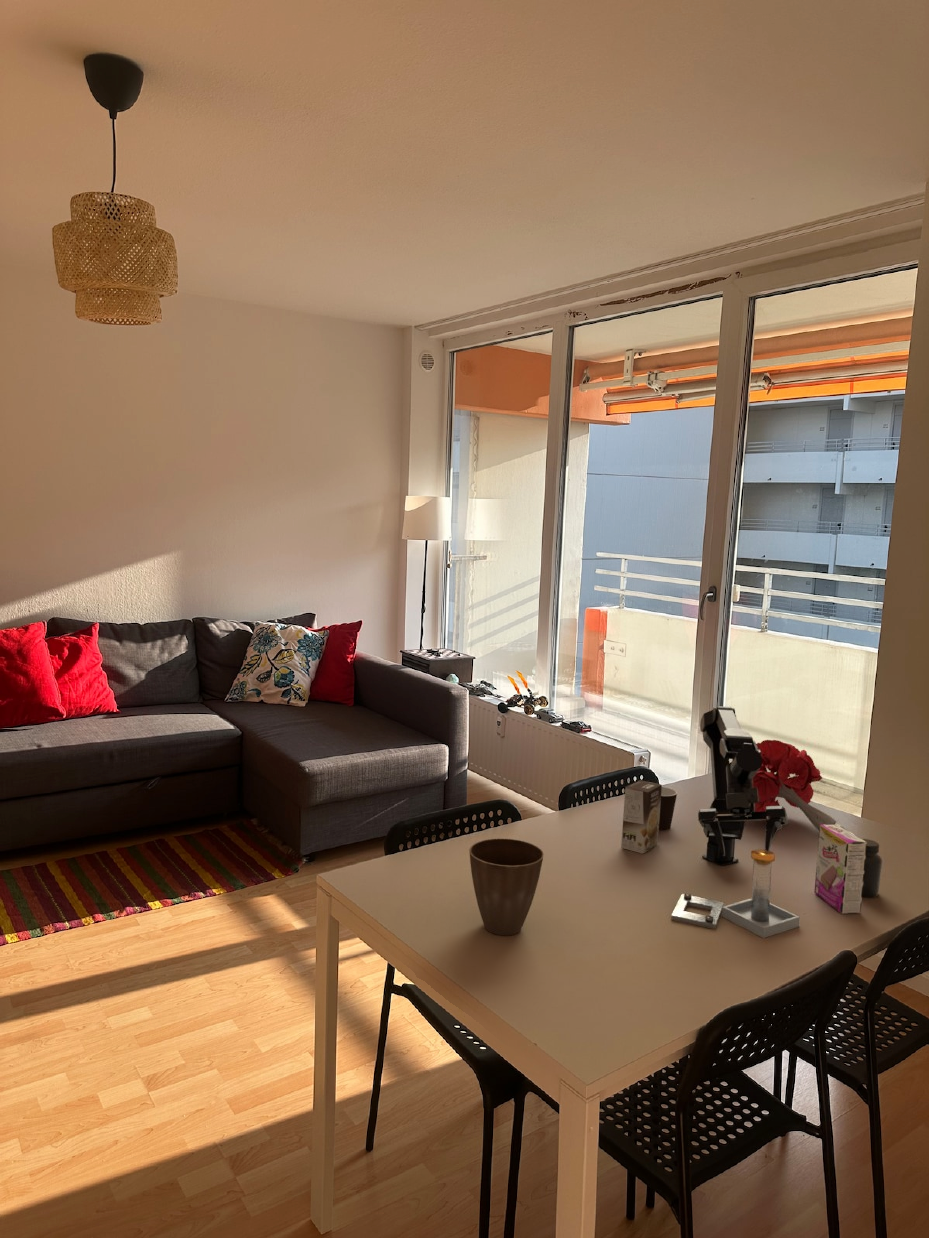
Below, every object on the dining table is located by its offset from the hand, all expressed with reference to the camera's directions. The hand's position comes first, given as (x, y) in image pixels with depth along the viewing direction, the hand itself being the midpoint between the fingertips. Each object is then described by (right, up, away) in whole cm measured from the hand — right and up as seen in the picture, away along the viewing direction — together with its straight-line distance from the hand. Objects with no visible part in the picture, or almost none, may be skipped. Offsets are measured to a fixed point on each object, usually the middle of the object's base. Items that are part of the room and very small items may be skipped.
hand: (745, 855), depth 196 cm
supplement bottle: (+30, -11, +9) cm, 33 cm away
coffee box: (-17, -7, +33) cm, 37 cm away
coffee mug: (-9, -5, +49) cm, 50 cm away
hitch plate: (-12, -11, -5) cm, 17 cm away
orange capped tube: (+1, -11, -8) cm, 14 cm away
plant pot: (-54, -11, -15) cm, 57 cm away
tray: (+1, -12, -8) cm, 14 cm away
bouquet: (+27, -6, +54) cm, 61 cm away
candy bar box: (+21, -12, +2) cm, 24 cm away
